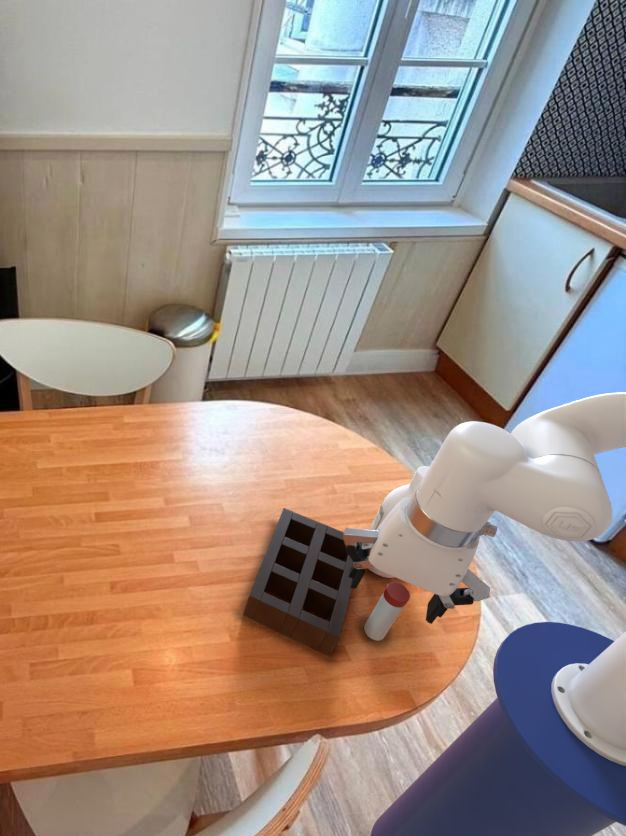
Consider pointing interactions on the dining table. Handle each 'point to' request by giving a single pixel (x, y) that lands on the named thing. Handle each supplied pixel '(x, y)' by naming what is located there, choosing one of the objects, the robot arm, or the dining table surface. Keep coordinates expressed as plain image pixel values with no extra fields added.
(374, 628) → the test tube
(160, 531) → the dining table surface
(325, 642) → the rack
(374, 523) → the bath foam
